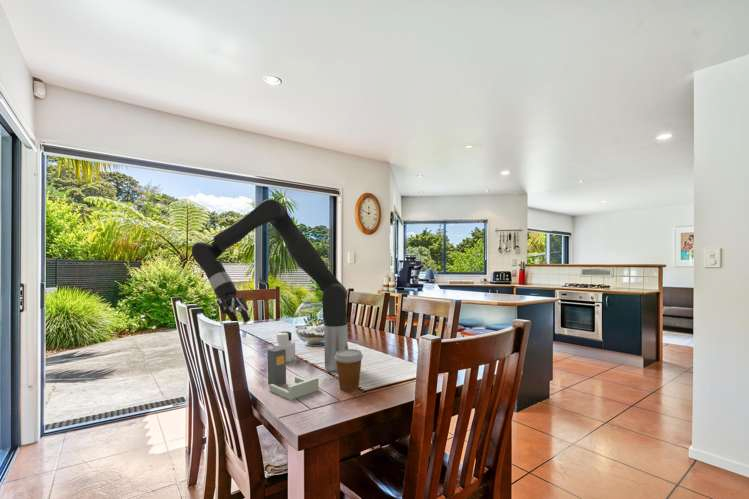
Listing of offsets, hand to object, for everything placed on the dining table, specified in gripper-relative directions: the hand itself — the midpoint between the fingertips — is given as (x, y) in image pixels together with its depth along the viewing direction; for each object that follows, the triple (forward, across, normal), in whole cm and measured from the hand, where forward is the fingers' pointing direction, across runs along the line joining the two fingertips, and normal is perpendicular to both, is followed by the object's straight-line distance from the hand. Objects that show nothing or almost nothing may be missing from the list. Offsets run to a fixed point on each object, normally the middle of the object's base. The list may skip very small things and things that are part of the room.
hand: (241, 321), depth 141 cm
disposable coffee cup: (+42, -4, -25) cm, 49 cm away
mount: (+32, -9, -10) cm, 35 cm away
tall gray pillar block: (+27, -3, -3) cm, 27 cm away
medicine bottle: (+19, +23, +4) cm, 30 cm away
